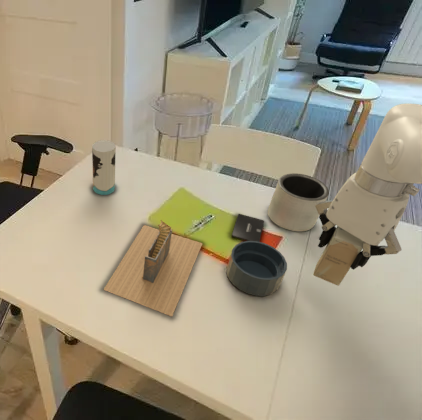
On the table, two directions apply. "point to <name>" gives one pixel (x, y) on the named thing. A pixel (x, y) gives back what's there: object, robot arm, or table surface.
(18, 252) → the table surface
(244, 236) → the solid state drive
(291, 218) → the planter
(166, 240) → the architectural model on board
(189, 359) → the table surface
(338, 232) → the box
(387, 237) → the robot arm
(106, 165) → the white patterned canister
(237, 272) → the round storage tub
